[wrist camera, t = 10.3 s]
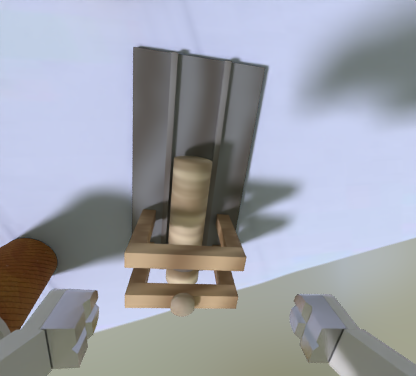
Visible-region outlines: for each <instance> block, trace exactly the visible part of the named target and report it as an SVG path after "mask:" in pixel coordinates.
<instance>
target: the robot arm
mask: <svg viewBox="0 0 416 376" xmlns="http://www.w3.org/2000/svg"><path fill="white" fill-rule="evenodd" d="M97 299H98V292H97V291H96V290H81V289H53V290H51V291H50V292H49V293H48V295H47V296H46V297H45V299H44V300H43V301H42V303H41V304H40V305H39V306H38V308H37V309H36V310H35V312H34V313H33V314H32V316H31V317H30V318H29V320H28V321H27V322H26V324H25V325H24V326H23V328H22V329H21V330H15V331H13V332H12V333H10V334H9V335H7V336H6V337H4V338H2V339H1V340H0V376H47V375H48V374H49V373H50V372H51V371H52V370H51V369H61V368H79V367H80V364H81V362H82V360H83V357H84V355H85V352H86V350H87V348H88V344H87V339H88V338H90V337H91V336H92V335H93V333H94V331H95V328H96V325H97V321H98V316H99V307H98V306H97V305H96V304H95V303H96V301H97ZM294 302H295V304H296V305H295V306H294V307H293V308H292V309H291V312H290V323H291V327H292V330H293V332H294V334H295V335H296V336H297V337H299V338H300V339H301V340H300V346H301V349H302V351H303V353H304V355H305V357H306V359H307V361H308V362H309V363H329V365H330V366H331V367H332V368H333V369H334V370H335V371H336V372H337V373H338V374H339V375H340V376H416V364H414V363H413V362H411V361H410V360H408V359H407V358H405V357H404V356H403V355H401V354H399V353H398V352H397V351H395V350H394V349H392V348H390V347H389V346H388V345H386V344H385V343H383V342H382V341H380V340H379V339H377V338H376V337H374V336H373V335H371V334H370V333H368V332H367V331H366V330H364V329H360V328H359V327H358V326H357V325H356V323H355V322H354V321H353V320H352V318H351V317H350V316H349V315H348V313H347V312H346V311H345V309H344V308H343V307H342V306H341V304H340V303H339V302H338V301H337V299H336V298H335V297H334V296H333V295H330V294H297V295H296V296H295V299H294Z"/></svg>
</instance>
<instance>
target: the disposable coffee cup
mask: <svg viewBox="0 0 416 376" xmlns="http://www.w3.org/2000/svg"><path fill="white" fill-rule="evenodd" d="M56 268H57V257H56V255H55V253H54V252H53V250H52V249H51V248H50V247H49V246H47V245H46V244H44V243H43V242H41V241H38V240H35V239H30V238H20V239H16V240H13V241H11V242H9V243H8V244H6V245H4V246H2V247H1V248H0V340H1V339H2V338H4V337H6V336H7V335H9V334H10V333H12V332H13V331H15V330H20V328H21V326H22V325H23V323H24V322H25V320H26V318H27V317H28V314H29V313H30V312H31V309H32V308H33V307H34V304H35V303H36V301H37V299H38V298H39V296H40V294H41V293H42V291H43V290H44V288H45V286H46V285H47V283H48V281H49V280H50V278H51V276H52V275H53V273H54V271H55V270H56Z"/></svg>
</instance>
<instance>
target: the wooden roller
mask: <svg viewBox="0 0 416 376" xmlns="http://www.w3.org/2000/svg"><path fill="white" fill-rule="evenodd" d="M212 163H213V162H212V161H211V160H209V159H206V158H202V157H196V156H177V157H174V166H173V181H172V195H171V210H170V224H169V239H168V244H174V245H196V246H202V241H203V233H204V225H205V217H206V210H207V202H208V194H209V186H210V178H211V170H212ZM198 272H199V270H188V269H166V280H167V282H168V283H169V284H195V283H196V282H197V279H198Z"/></svg>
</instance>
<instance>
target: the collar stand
mask: <svg viewBox="0 0 416 376" xmlns="http://www.w3.org/2000/svg"><path fill="white" fill-rule="evenodd" d="M264 71H265V68H263V67H257V66H251V65H244V64H238V63H232V61H227V60H225V61H219V60H213V59H206V58H200V57H194V56H188V55H181V54H178V53H177V52H172V53H169V52H162V51H156V50H150V49H143V48H137V47H133V177H132V236H131V239H130V241H129V243H128V246H127V248H126V250H125V253H124V257H125V268H133V271H132V274H131V278H130V281H129V284H128V287H127V290H126V293H125V308H171V312H172V313H173V314H175V315H177V316H187V315H189V314H191V313H192V312H193V311H194V308H236V304H237V300H238V294H237V291H236V287H235V284H234V280H233V277H232V273H231V271H244V266H245V262H246V255H245V253H244V251H243V248H242V246H241V243H240V241H239V238H238V236H237V234H236V225H237V220H238V214H239V209H240V203H241V198H242V192H243V187H244V181H245V176H246V170H247V165H248V159H249V154H250V148H251V143H252V137H253V132H254V126H255V120H256V115H257V109H258V104H259V98H260V93H261V87H262V82H263V76H264ZM177 156H196V157H202V158H206V159H209V160H211V161H212V162H213V163H212V170H211V178H210V186H209V194H208V202H207V210H206V217H205V225H204V233H203V241H202V246H196V245H174V244H168V239H169V224H170V210H171V195H172V181H173V166H174V157H177ZM150 268H155V269H188V270H214V273H215V279H216V285H215V284H169V283H147V281H148V277H149V272H150Z"/></svg>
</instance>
